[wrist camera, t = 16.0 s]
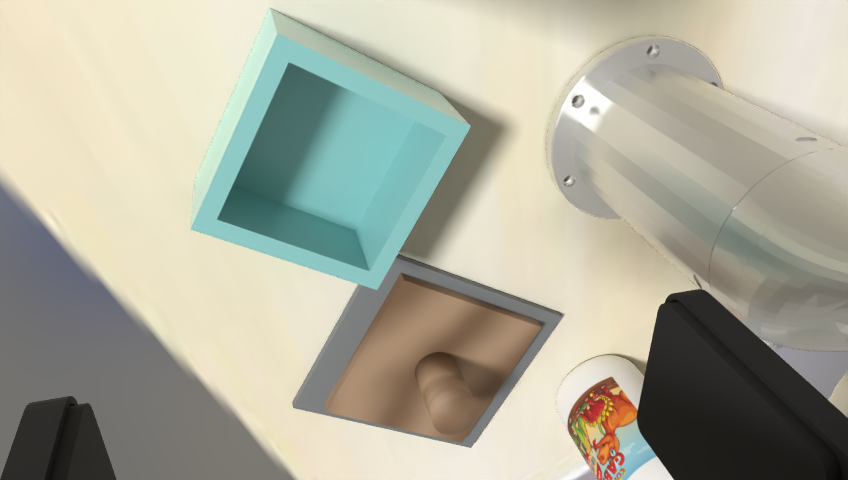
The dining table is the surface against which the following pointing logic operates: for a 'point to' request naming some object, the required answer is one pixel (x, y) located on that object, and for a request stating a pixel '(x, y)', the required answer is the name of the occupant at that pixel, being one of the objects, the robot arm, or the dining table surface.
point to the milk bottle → (608, 419)
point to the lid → (431, 360)
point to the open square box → (323, 155)
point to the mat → (364, 312)
